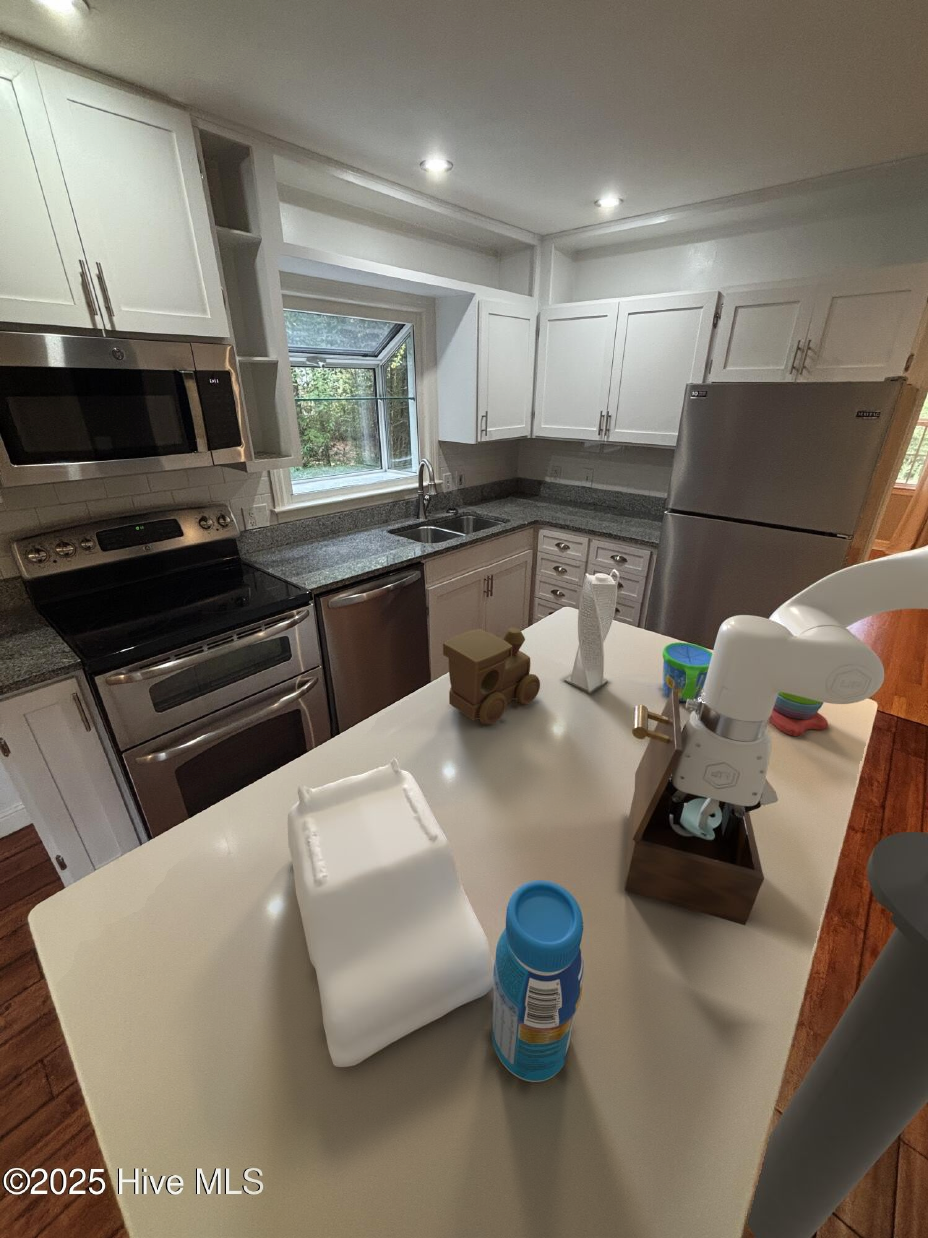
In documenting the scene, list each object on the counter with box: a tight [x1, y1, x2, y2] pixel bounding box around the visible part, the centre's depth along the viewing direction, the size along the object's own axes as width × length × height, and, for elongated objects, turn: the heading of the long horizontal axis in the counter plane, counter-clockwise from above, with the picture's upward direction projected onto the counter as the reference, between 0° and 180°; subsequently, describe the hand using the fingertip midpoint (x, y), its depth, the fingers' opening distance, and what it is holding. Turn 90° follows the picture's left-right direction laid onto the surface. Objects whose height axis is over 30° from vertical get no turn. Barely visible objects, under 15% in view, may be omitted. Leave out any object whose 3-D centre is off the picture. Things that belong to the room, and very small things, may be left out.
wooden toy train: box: [442, 627, 541, 726], centre depth 102 cm, size 20×11×17 cm, turn 131°
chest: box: [624, 789, 765, 926], centre depth 69 cm, size 15×13×9 cm
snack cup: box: [662, 642, 713, 703], centre depth 108 cm, size 16×10×10 cm
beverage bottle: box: [490, 879, 585, 1083], centre depth 48 cm, size 8×8×20 cm
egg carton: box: [287, 757, 495, 1068], centre depth 61 cm, size 19×30×13 cm, turn 26°
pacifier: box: [669, 798, 722, 840], centre depth 67 cm, size 7×6×6 cm
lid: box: [631, 690, 683, 842], centre depth 66 cm, size 16×13×5 cm
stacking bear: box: [769, 692, 829, 737], centre depth 99 cm, size 11×10×18 cm
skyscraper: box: [563, 568, 621, 694], centre depth 107 cm, size 8×8×28 cm
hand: (699, 822), depth 68 cm, fingers closed on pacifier, 5 cm apart
